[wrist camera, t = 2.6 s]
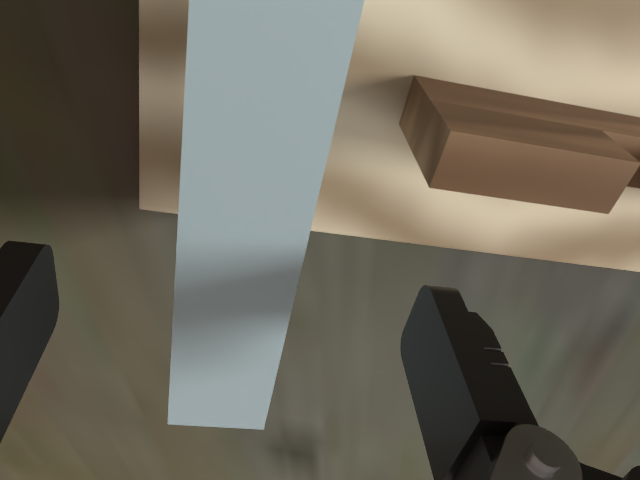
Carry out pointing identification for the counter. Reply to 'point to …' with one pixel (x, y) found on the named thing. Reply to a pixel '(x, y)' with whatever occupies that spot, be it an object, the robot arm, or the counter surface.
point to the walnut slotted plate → (520, 146)
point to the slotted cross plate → (249, 192)
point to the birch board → (388, 103)
